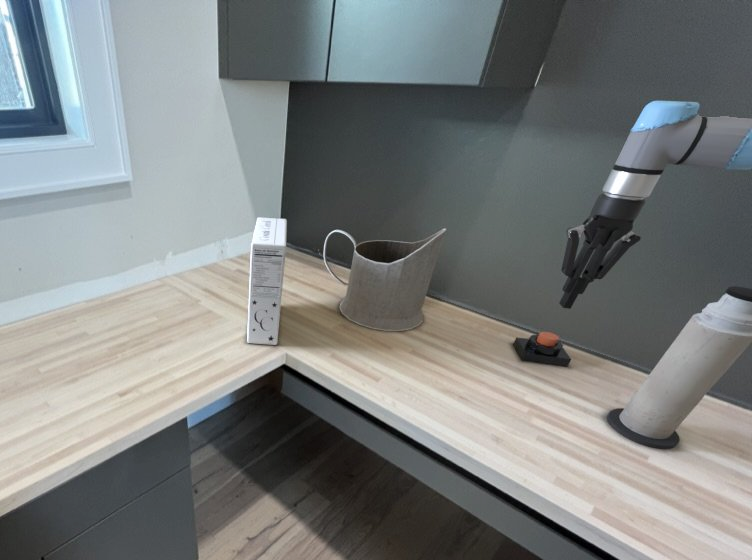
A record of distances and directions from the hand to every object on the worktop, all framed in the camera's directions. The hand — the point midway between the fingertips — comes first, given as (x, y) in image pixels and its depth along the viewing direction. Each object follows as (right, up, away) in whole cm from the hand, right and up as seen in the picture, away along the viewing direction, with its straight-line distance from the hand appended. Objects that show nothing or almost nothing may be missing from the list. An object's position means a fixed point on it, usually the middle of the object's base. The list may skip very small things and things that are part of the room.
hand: (564, 305), depth 96 cm
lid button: (0, -8, +6) cm, 10 cm away
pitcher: (-37, +4, +27) cm, 47 cm away
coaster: (+4, -27, -14) cm, 30 cm away
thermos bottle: (+5, -26, -14) cm, 30 cm away
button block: (0, -11, +8) cm, 14 cm away
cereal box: (-68, -2, +17) cm, 70 cm away
